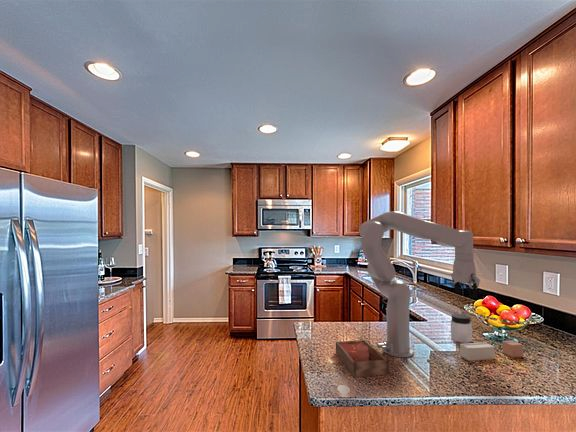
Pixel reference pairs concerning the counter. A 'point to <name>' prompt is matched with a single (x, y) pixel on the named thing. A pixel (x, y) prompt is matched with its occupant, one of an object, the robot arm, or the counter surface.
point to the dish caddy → (367, 367)
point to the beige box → (477, 351)
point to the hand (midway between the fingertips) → (465, 295)
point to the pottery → (357, 351)
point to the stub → (512, 348)
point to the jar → (461, 328)
